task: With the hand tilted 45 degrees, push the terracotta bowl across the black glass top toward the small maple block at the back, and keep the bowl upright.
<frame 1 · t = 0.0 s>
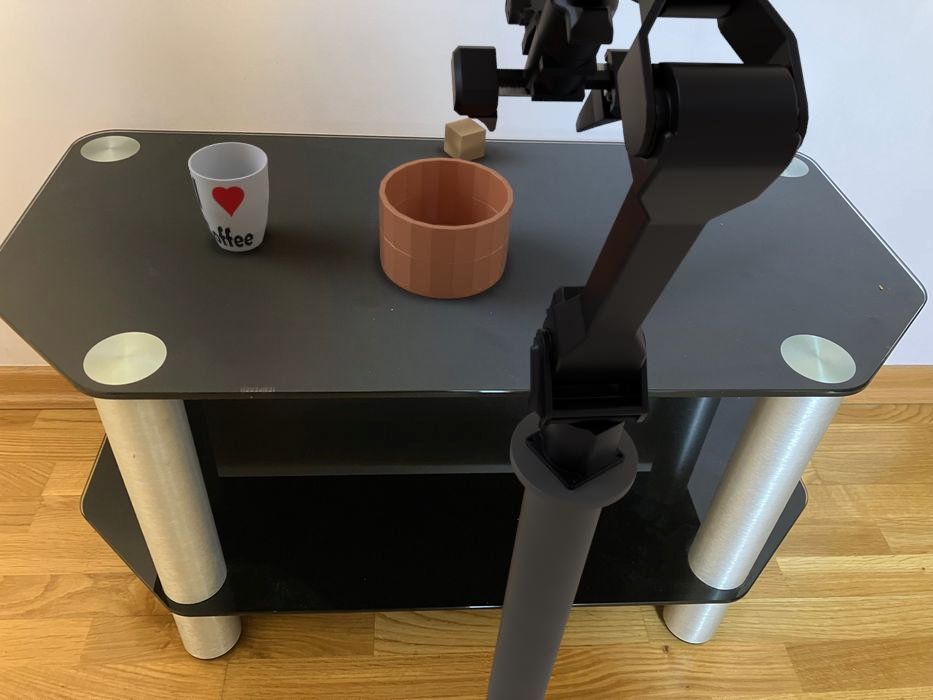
hand: (534, 127, 82), 15 cm above the table, tool tilted 35°, fingers open, 9 cm apart
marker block: (463, 153, 108), on the table
cup: (240, 239, 90), on the table
bowl: (443, 259, 89), on the table
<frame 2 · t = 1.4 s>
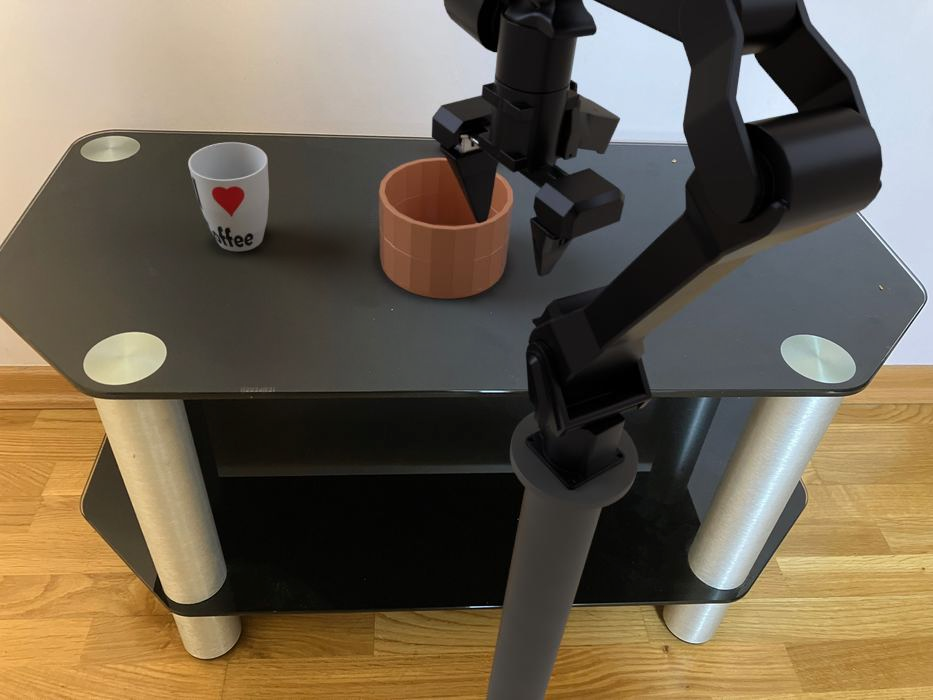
hand: (511, 246, 70), 13 cm above the table, tool pointing down, fingers open, 9 cm apart
nothing on the table moved.
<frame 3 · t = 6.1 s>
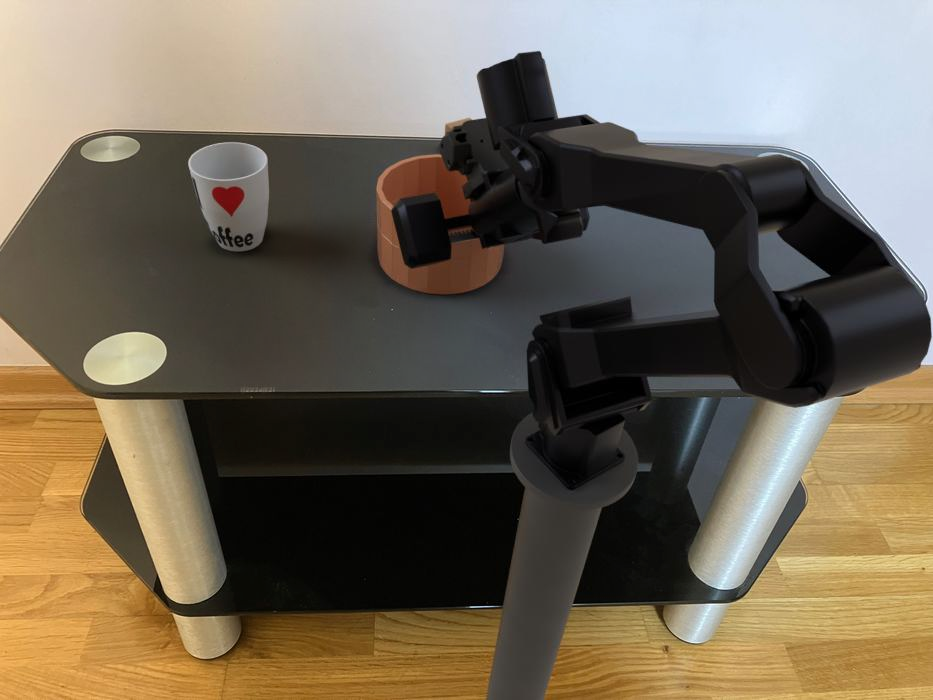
hand: (464, 234, 81), 7 cm above the table, tool tilted 45°
bowl: (440, 255, 90), on the table, touching gripper
everything else where it was.
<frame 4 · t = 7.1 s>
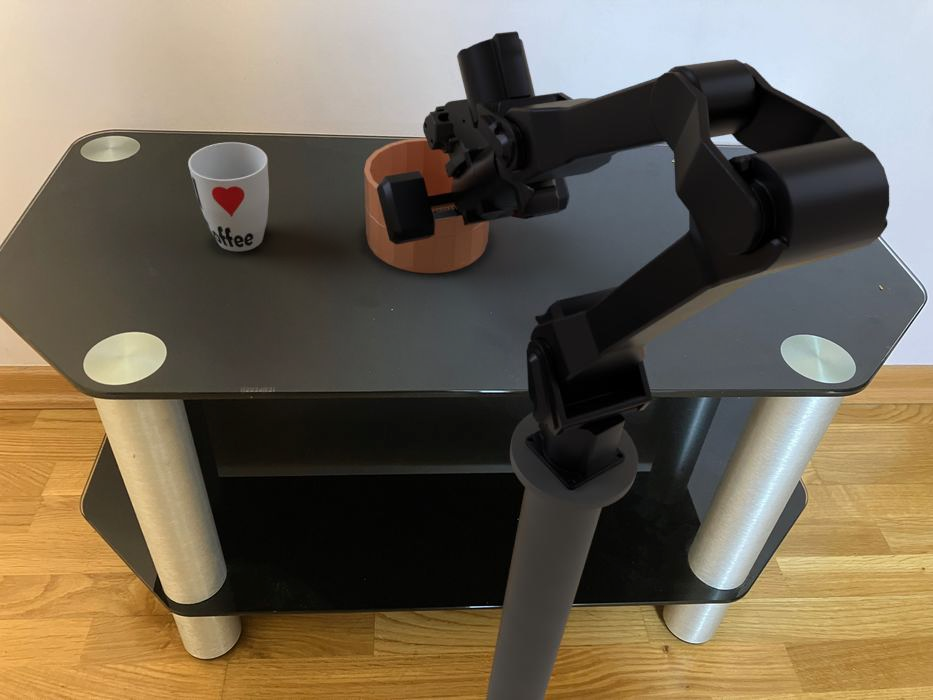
hand: (449, 214, 84), 7 cm above the table, tool tilted 45°
bowl: (427, 237, 92), on the table, touching gripper
everything else where it was.
when the fingers open (7 cm above the table, at t = 8.0 s): bowl stays where it is, on the table.
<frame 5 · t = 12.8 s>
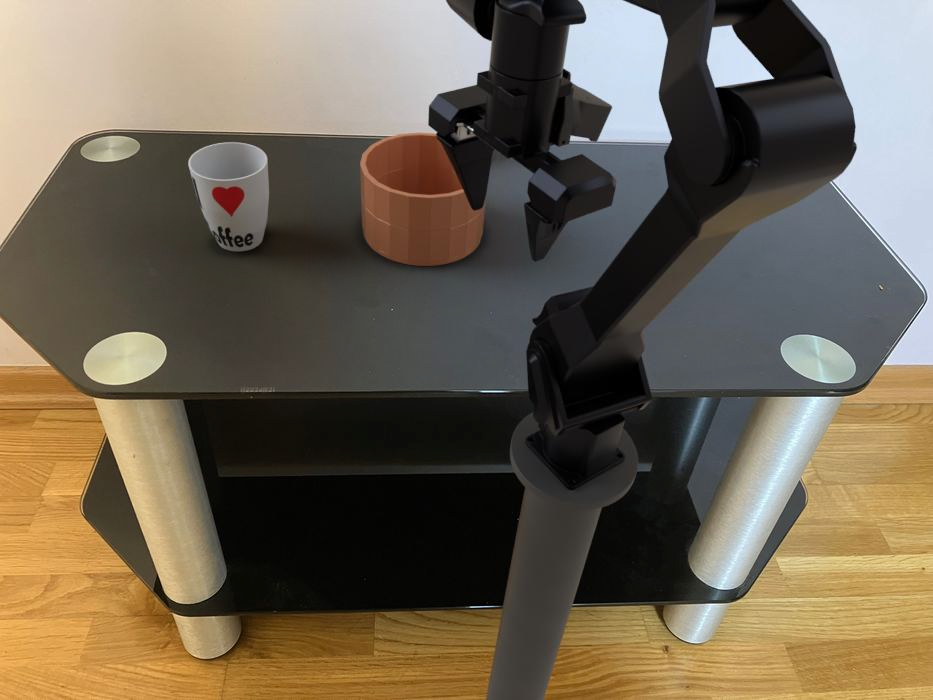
hand: (506, 233, 71), 13 cm above the table, tool pointing down, fingers open, 9 cm apart
bowl: (422, 230, 93), on the table
everything else where it was.
at the end: bowl inside the target area on the table beside the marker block (0.4 cm from its centre), on the table; bowl moved 6.2 cm from its start; bowl tilted 0° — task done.
